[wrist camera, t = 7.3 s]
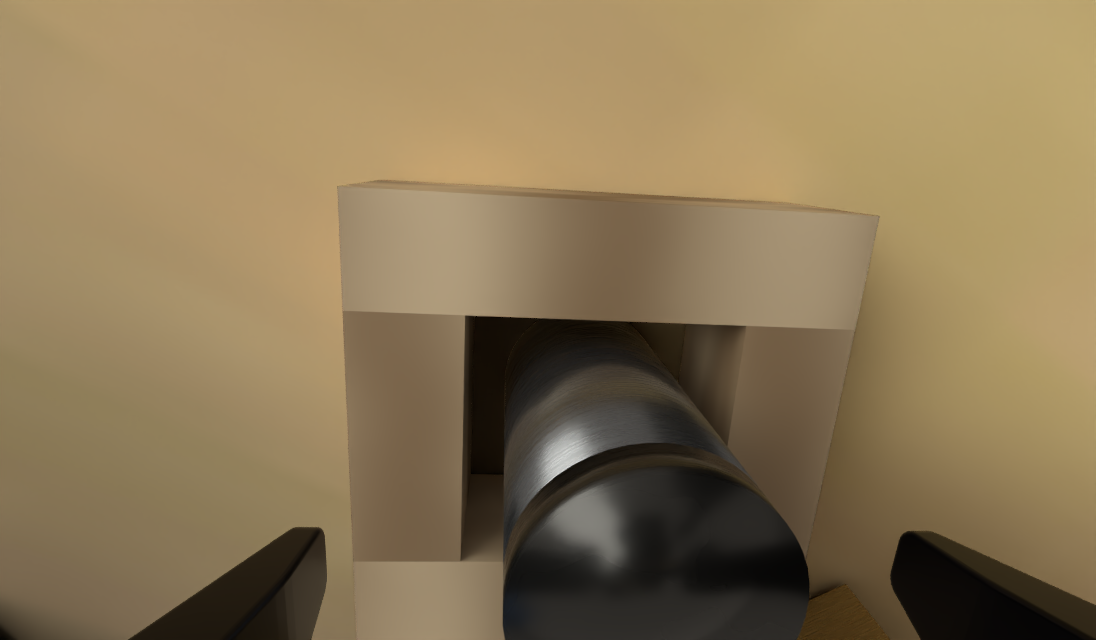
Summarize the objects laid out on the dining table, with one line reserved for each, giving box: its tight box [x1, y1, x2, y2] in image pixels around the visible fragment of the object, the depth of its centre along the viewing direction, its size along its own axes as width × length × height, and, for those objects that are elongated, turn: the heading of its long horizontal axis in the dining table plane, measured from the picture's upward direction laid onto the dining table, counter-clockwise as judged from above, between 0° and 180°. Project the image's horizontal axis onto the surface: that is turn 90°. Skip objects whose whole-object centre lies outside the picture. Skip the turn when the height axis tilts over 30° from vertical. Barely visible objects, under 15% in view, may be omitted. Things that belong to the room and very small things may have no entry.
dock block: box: [337, 180, 880, 640], centre depth 13 cm, size 10×10×4 cm
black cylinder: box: [503, 318, 809, 640], centre depth 11 cm, size 4×4×8 cm
